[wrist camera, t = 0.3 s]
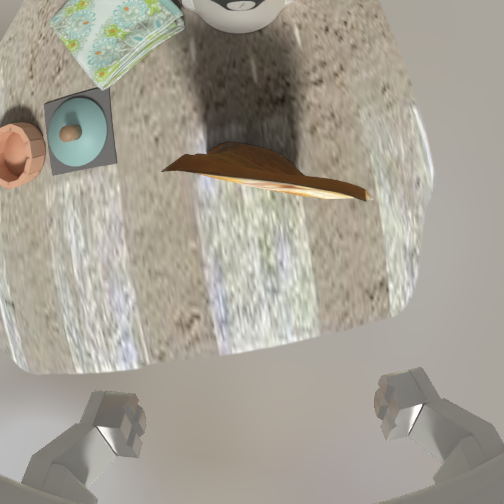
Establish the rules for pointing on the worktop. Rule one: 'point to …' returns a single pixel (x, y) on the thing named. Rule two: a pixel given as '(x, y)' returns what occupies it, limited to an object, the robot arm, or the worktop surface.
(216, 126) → the worktop surface
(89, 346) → the worktop surface
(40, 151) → the bowl
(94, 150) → the lid
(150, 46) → the towel
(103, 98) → the mat
